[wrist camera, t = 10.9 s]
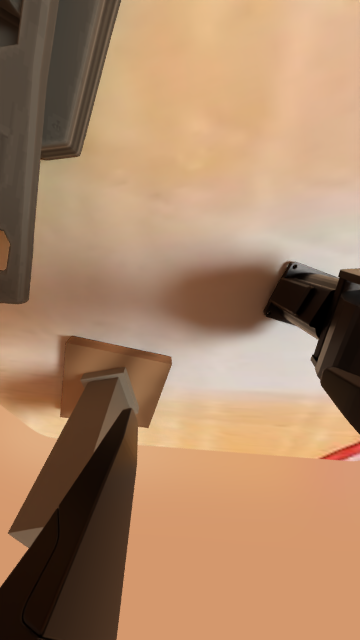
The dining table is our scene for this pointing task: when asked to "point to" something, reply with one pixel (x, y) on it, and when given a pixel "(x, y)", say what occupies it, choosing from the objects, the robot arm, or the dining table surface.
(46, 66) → the zipper pull
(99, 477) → the robot arm
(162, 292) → the dining table surface
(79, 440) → the picture frame
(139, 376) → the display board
